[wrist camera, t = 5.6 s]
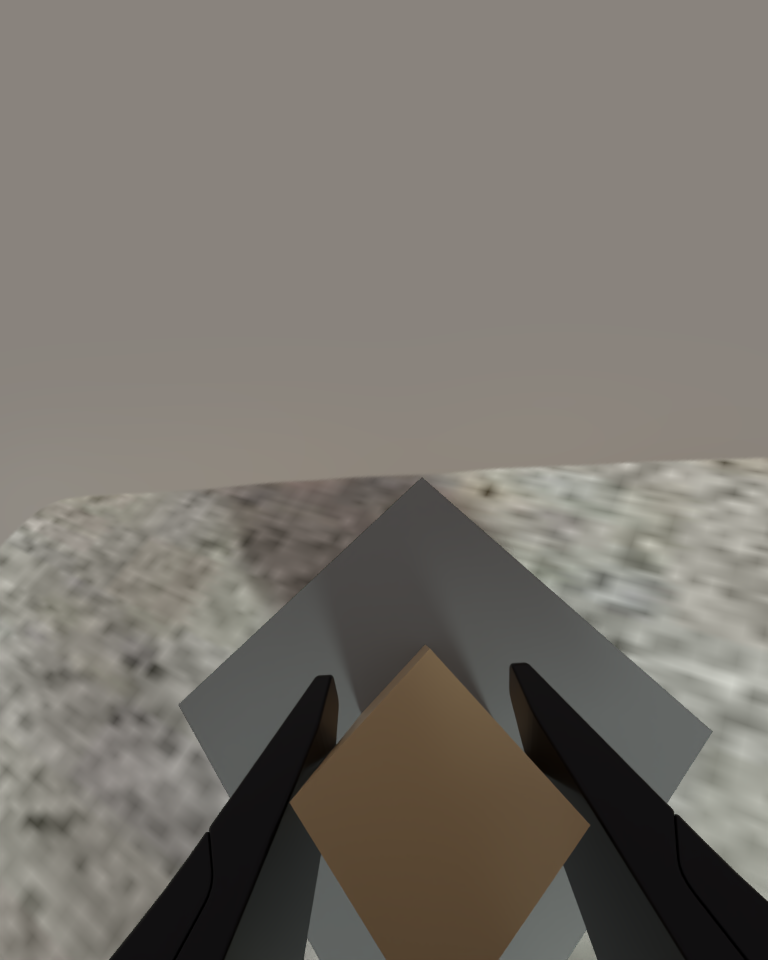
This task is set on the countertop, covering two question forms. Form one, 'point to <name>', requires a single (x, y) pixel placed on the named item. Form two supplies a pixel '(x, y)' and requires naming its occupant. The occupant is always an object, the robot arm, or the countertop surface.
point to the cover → (436, 739)
